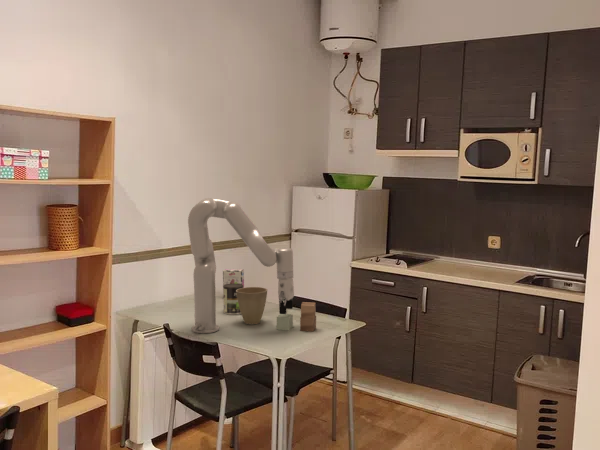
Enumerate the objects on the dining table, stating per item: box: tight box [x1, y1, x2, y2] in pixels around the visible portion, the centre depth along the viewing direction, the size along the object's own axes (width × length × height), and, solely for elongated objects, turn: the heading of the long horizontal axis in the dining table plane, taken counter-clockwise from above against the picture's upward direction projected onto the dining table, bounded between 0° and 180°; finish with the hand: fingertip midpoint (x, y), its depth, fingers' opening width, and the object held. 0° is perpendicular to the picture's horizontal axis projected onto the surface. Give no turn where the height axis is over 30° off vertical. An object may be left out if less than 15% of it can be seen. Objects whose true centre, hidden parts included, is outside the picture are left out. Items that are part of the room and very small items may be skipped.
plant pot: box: [236, 286, 268, 325], centre depth 284 cm, size 15×15×16 cm
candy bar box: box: [222, 268, 245, 300], centre depth 336 cm, size 11×5×16 cm, turn 81°
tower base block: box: [299, 315, 317, 333], centre depth 273 cm, size 6×6×6 cm
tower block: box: [300, 301, 317, 319], centre depth 272 cm, size 6×6×6 cm
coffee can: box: [222, 284, 243, 316], centre depth 304 cm, size 10×10×14 cm
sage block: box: [276, 313, 294, 331], centre depth 275 cm, size 6×6×6 cm
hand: (286, 311), depth 274 cm, fingers open, 9 cm apart
